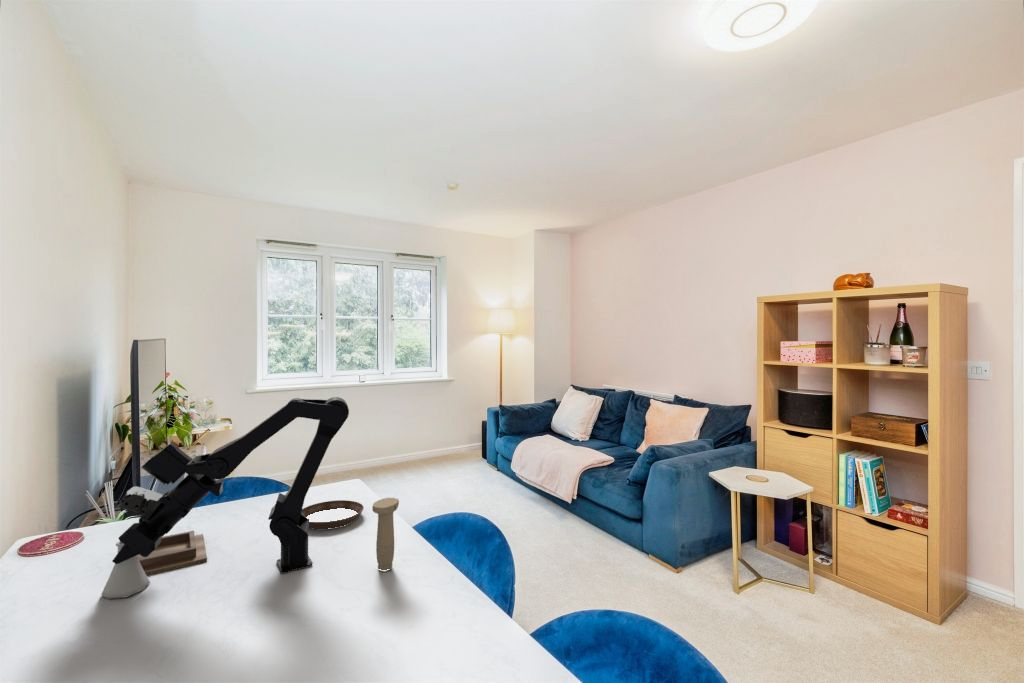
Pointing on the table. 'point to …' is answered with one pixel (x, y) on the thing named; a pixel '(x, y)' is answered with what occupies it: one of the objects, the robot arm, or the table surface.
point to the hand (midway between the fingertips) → (118, 558)
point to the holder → (175, 553)
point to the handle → (385, 531)
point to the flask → (125, 578)
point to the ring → (332, 505)
